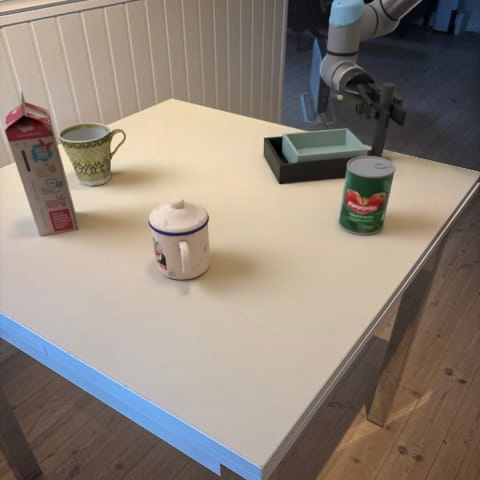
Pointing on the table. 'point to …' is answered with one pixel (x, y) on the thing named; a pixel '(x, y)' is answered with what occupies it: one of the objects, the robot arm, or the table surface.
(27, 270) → the table surface
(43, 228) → the juice carton
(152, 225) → the teacup with lid
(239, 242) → the table surface
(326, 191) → the table surface
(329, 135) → the green tray with handle
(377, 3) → the robot arm
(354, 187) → the canned tomato
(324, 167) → the frame
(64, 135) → the ceramic cup
